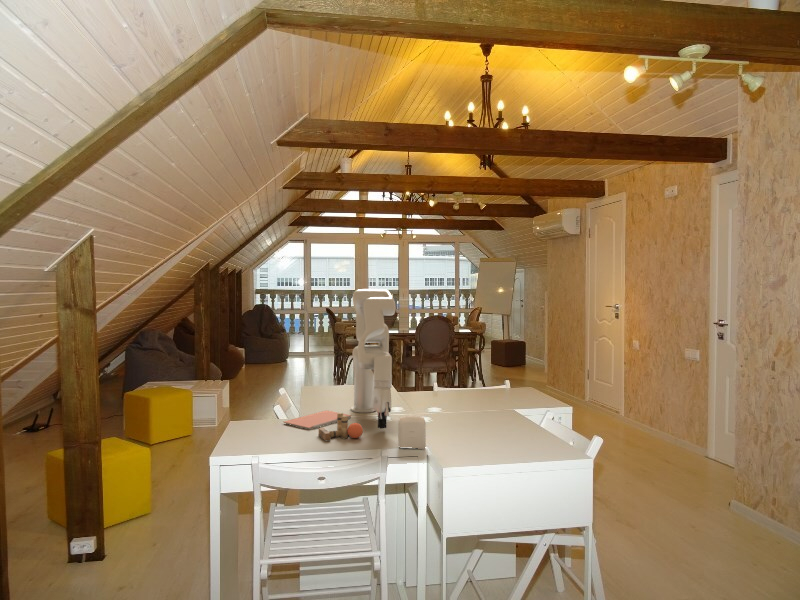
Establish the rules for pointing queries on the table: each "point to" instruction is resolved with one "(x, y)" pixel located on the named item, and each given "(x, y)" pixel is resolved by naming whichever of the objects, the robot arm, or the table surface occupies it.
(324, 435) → the block
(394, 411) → the table surface
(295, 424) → the notebook
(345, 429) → the rear pin
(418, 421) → the photo printer
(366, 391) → the robot arm
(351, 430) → the ball
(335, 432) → the front pin
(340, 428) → the rear pin
